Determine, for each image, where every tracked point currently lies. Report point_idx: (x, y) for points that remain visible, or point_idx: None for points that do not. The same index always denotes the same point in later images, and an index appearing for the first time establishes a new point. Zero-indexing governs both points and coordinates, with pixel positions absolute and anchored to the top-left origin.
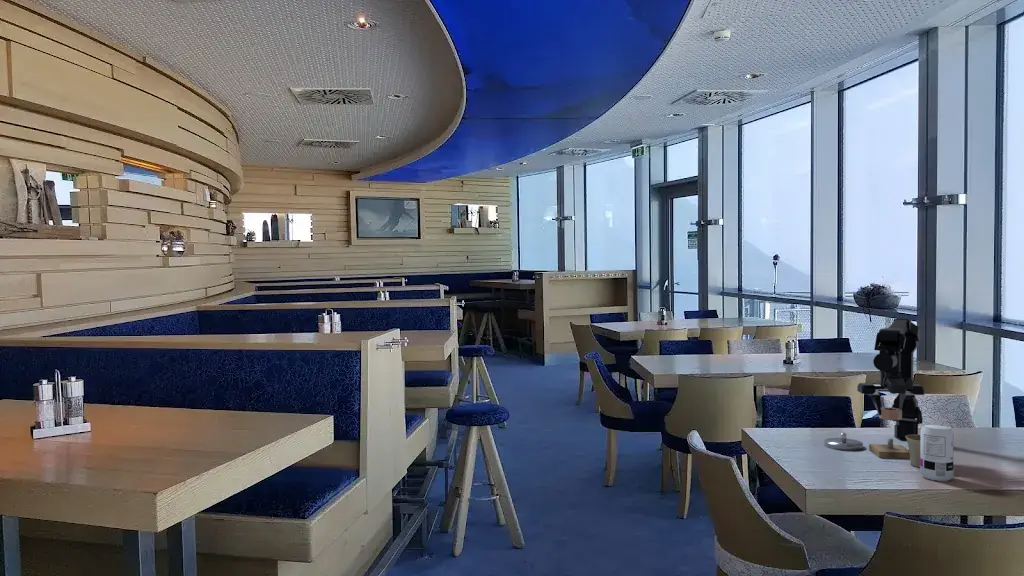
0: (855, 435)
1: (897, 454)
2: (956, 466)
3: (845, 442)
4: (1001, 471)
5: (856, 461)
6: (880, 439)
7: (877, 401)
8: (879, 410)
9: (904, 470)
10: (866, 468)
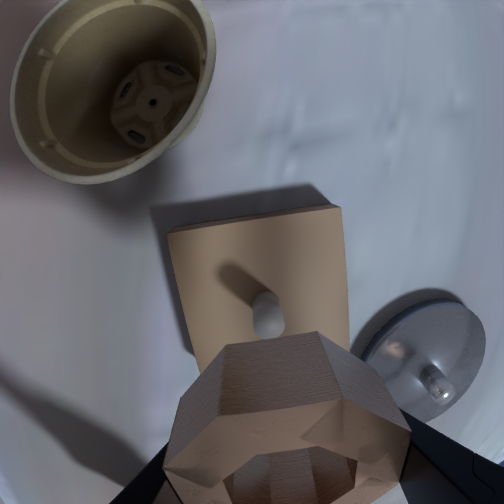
0: None
1: (244, 219)
2: None
3: (426, 368)
4: None
5: (432, 113)
6: None
7: (502, 484)
8: (419, 430)
9: (254, 3)
10: (401, 13)
